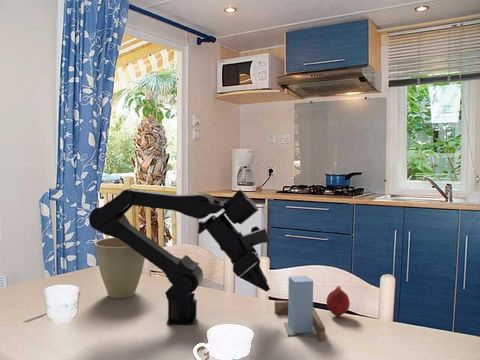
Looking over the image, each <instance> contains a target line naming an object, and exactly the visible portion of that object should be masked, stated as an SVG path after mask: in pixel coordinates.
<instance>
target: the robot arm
mask: <svg viewBox="0 0 480 360" xmlns="http://www.w3.org/2000/svg"><path fill="white" fill-rule="evenodd" d="M136 206H137V207H145V208H150V209H151V208H152V209H160V210H168V211H174V212H178V213H180V214H182V215H185V216H187V217H191V218H194V219H198V220H202V219H206V217H208V216H210V217H208V219H206V220H205V221H199V222H198V230H197V234H198V235H200V234H201V233H203V232H204V231H206V232H208V233H209V235H210V236H211V237H212V238H213V240H214V241H215V242H216V243H217V245H218V247H219V249H220V250H221V252H224V254H225V255H226V257H228V259H229V260H230V262H231V264H232V272H233V273H234V274H235V275H236V277H237V278H238V277H239V279H242V280H244V281H245V282H248V283H250V284H252V285H253V286H255V287H257V288H259V289H261V290H263V291H265V292H269V291H270V290H271V288H270V286H269V284H268V280H267V278H266V275H265V273H264V272H263V270H262V268H261V259H260V257H259V253H258V252H257V251H258V250H257V249H256V248H255V246H257V245H260V244H266V243H268V242H270V238H269V235H268V232H267V230H266V228H265V227H263V228H262V227H261V228H259V226H257V225H256V226H253V227H251V229H250V232H248V233H246V234H243V233H242V232H241V231H238V230H237V228H236V227H235V226H234V225H236V224H239V225H242V224H244V223H245V222H247V220H248V219H250V218H251V217H252V216H254V215H255V214H256V213H257V212H259V207H258V206H257V205H256V203H255V202H254V201H253V199H252V198H251V197H249V196H248V195H247V194H246V193H245V192H244V191H243V190H242V189H238V190H237V191H235V194H233V196H232V197H230V198H229V199H228V200H227V201H223V200H218V199H214V197H213V196H212V195H211V194H209V193H205V192H203V193H189V194H188V193H187V194H186V193H185V194H175V193H166V192H156V191H148V190H139V189H136V188H126V189H124V190H122V191H121V192H120V193H119V194H118V195H117V196H115V197H114V198H112V199H111V200H110V201H109V200H108V202H106V203H105V204H104V205H103V206H99V207H96V208H94V209H93V210H92V211H91V212H90V214H89V218H88V220H89V225H90V227H91V228H92V229H93V230H95V231H97V232H99V233H100V234H103V235H106V236H108V237H111V238H114V237H115V238H118V239H120V240H121V241H122V242H124V243H125V244H127V245H128V246H129V247H131V248H132V249H133V250H135V251H136V252H137V253H139V254H140V255H142V256H143V257H144V258H145V260H147V261H148V262H150V263H151V264H153V266H155V267H156V268H157V269H159V270H161V271H162V272H163V273H164V275H165V276H166V278H167V279H168V282H169V283H170V284H171V286H170V287H169V288H168V289H167V290H166V291H165V297H166V299H167V313H168V314H167V321H166V325H194V322H195V320H196V319H197V315H198V311H197V310H198V308H197V307H198V305H197V304H198V300H197V299H196V298H195V291H196V290H197V288H198V287H199V286H200V284H201V283H202V280H203V279H204V274H203V269H202V268H201V267H200V266H199V265H200V263H199V262H196V261H194V260H193V259H192V258H191V257H190V256H188V255H187V254H185V255H184V256H183V257H182V258H181V257H177V256H174V255H173V254H172V253H171V252H169V251H168V250H166V249H165V248H164V247H162V246H161V245H159V244H158V243H157V242H156V241H154V240H152V239H151V238H150V237H148V236H147V235H146V234H144V233H143V232H141V231H140V230H139V229H137V228H136V227H135V226H133V225H132V224H131V222H130V221H129V219H128V218H127V216H126V215H125V214H126V213H128V211H129V210H130V209H131V208H132V207H136ZM222 210H224V211H222ZM221 211H222V213H220V214H219V215H218V216H215V215H214V214H218V213H219V212H221ZM211 214H212V215H211ZM232 223H233V224H234V225H233V224H232Z"/></svg>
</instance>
